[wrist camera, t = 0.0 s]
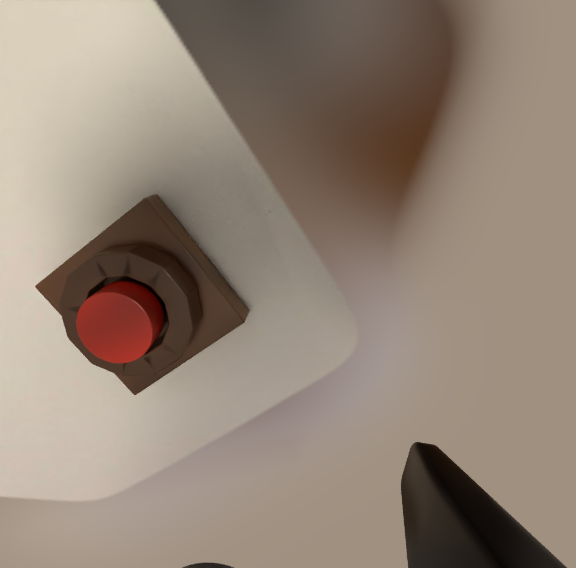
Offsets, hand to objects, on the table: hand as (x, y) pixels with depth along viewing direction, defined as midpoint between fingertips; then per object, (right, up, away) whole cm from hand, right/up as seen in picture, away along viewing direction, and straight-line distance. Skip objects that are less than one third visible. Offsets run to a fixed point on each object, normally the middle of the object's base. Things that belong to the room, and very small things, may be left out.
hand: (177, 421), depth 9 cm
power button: (-6, +1, +14) cm, 15 cm away
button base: (-6, +2, +17) cm, 18 cm away
